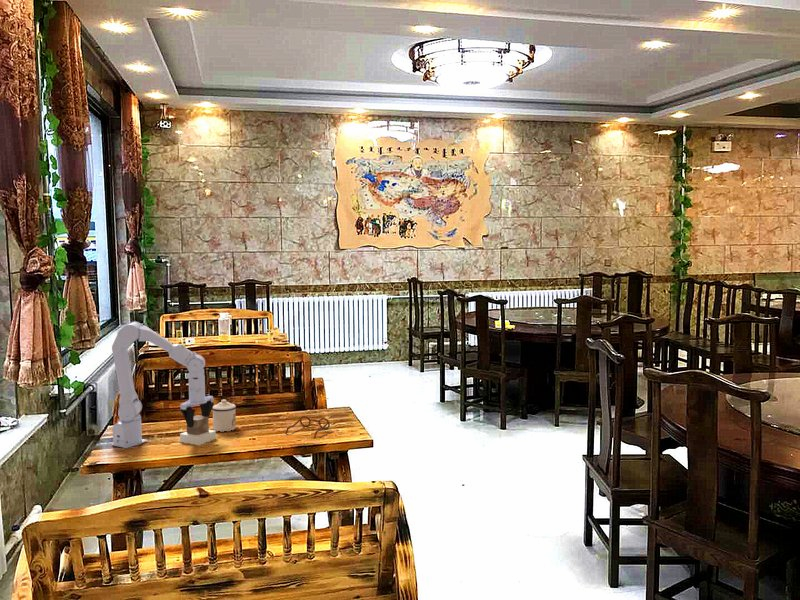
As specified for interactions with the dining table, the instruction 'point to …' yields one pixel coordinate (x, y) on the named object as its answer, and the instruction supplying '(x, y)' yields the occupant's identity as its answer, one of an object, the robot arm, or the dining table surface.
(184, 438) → the cream block
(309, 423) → the glasses
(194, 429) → the walnut cube
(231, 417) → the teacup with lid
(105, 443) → the dining table surface
